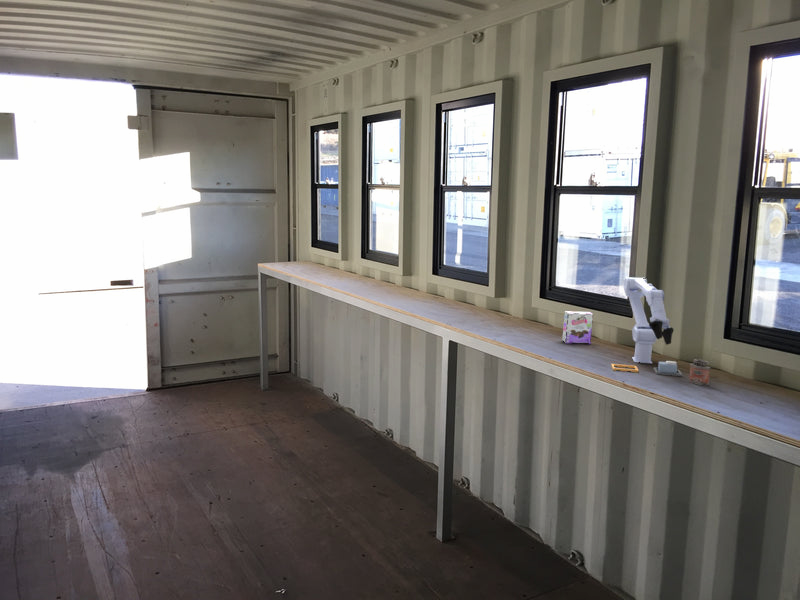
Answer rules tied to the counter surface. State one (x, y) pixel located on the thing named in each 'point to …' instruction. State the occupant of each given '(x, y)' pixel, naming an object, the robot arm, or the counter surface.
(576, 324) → the candy box
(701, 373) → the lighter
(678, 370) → the open gray picture frame
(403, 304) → the counter surface
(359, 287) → the counter surface
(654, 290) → the robot arm
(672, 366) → the plug
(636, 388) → the counter surface
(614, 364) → the orange picture frame
